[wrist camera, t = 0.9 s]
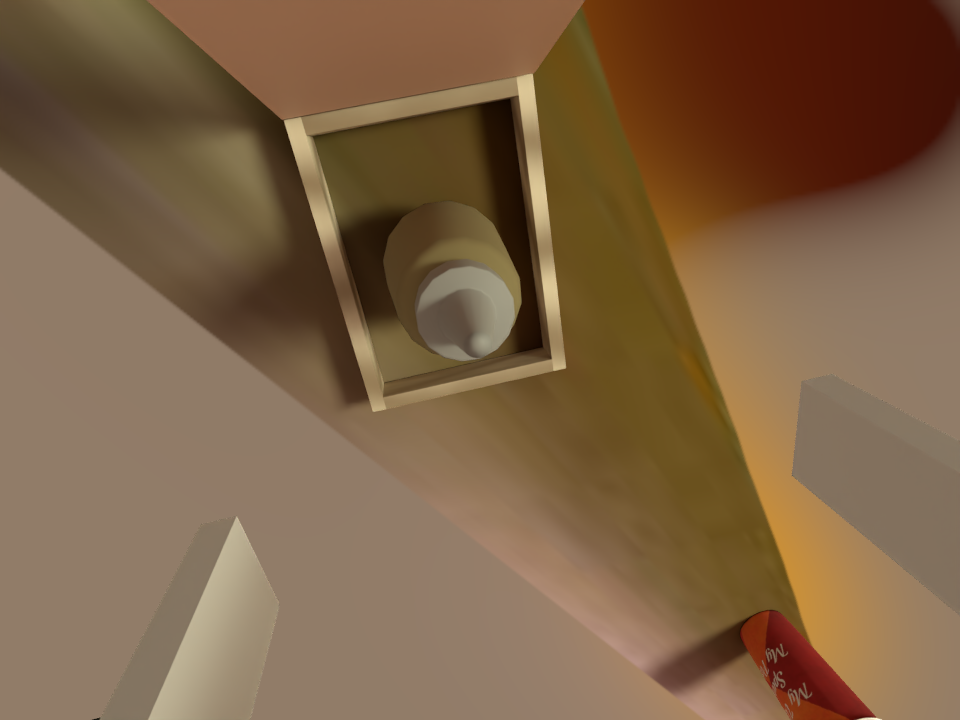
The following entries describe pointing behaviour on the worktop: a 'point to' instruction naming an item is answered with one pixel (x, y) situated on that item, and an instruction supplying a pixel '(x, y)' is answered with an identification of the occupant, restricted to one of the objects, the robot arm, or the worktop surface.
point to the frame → (537, 224)
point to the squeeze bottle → (452, 280)
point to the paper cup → (799, 672)
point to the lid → (367, 45)
